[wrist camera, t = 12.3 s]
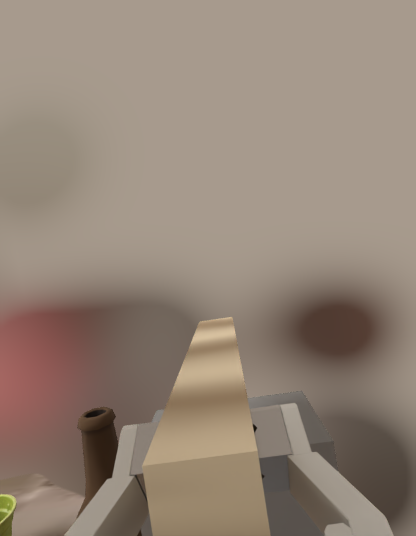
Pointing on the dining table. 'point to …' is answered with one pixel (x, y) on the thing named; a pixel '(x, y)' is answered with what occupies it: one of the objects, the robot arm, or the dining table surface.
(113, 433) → the beer bottle
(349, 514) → the robot arm
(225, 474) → the stick
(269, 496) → the stand
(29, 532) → the dining table surface
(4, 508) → the plant pot
